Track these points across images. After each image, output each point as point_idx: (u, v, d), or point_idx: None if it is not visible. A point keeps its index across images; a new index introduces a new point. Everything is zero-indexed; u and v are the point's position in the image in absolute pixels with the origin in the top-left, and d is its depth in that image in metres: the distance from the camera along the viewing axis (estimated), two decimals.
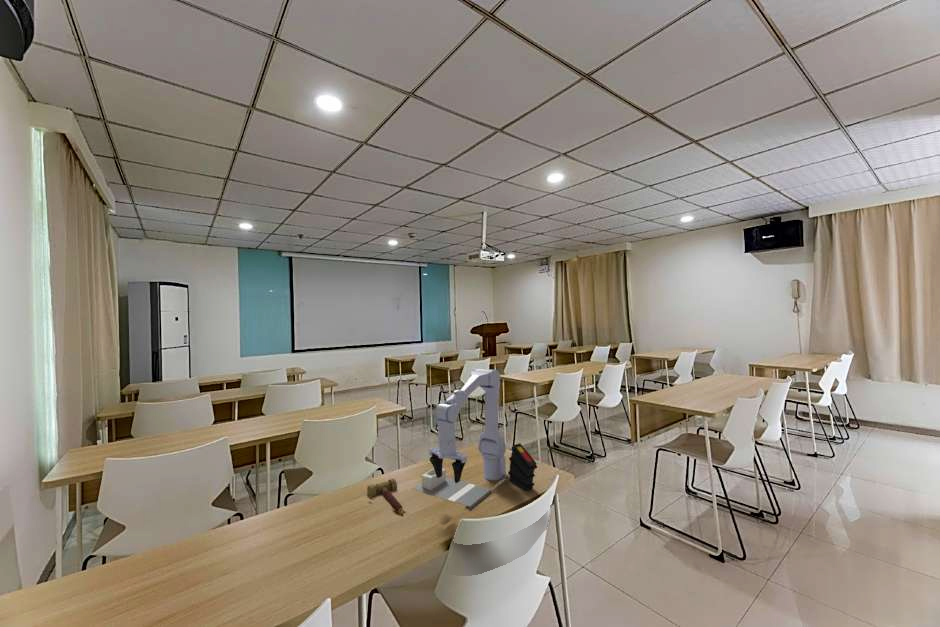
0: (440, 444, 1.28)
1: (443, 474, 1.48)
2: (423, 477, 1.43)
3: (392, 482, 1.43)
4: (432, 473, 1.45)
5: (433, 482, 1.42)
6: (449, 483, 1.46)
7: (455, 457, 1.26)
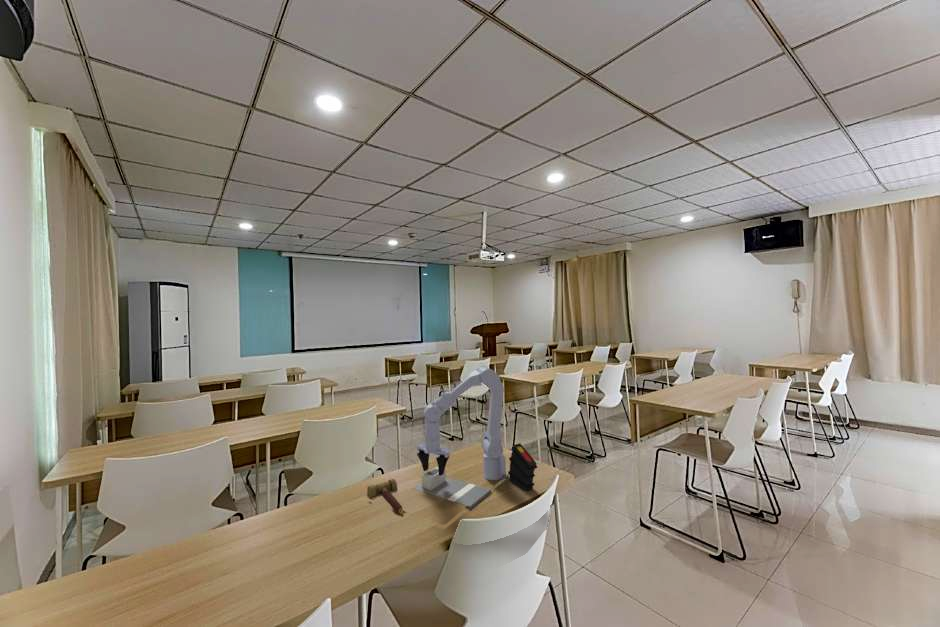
0: (426, 441, 1.44)
1: (443, 474, 1.48)
2: (423, 477, 1.43)
3: (392, 482, 1.43)
4: (432, 473, 1.45)
5: (433, 482, 1.42)
6: (449, 483, 1.46)
7: (439, 452, 1.42)
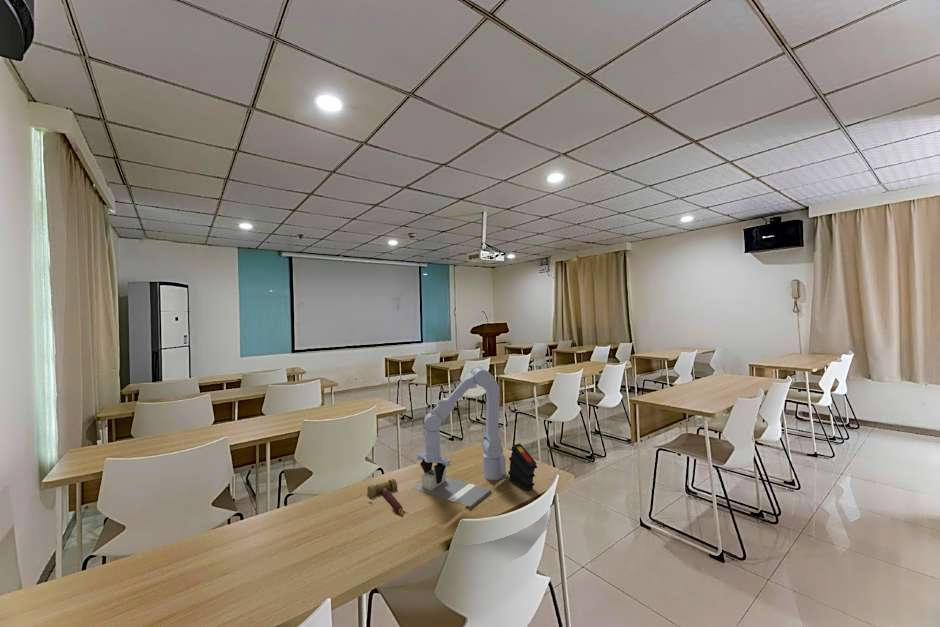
0: (426, 450, 1.44)
1: (443, 474, 1.48)
2: (423, 477, 1.43)
3: (392, 482, 1.43)
4: (432, 473, 1.45)
5: (433, 482, 1.42)
6: (449, 483, 1.46)
7: (439, 461, 1.42)
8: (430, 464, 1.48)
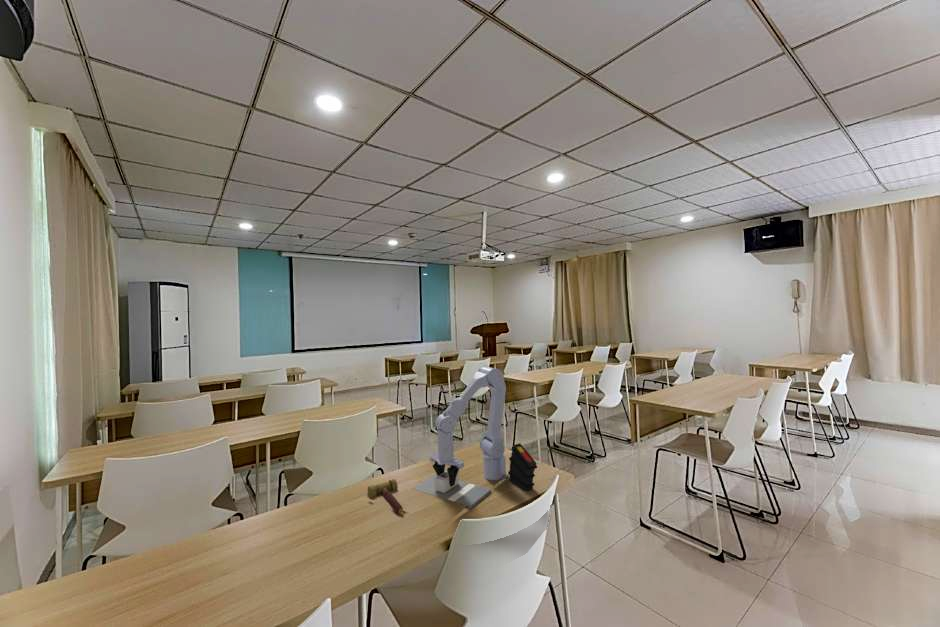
0: (439, 452, 1.41)
1: (456, 476, 1.44)
2: (436, 480, 1.40)
3: (392, 483, 1.42)
4: (445, 476, 1.41)
5: (446, 485, 1.39)
6: None
7: (453, 464, 1.39)
8: (443, 466, 1.45)
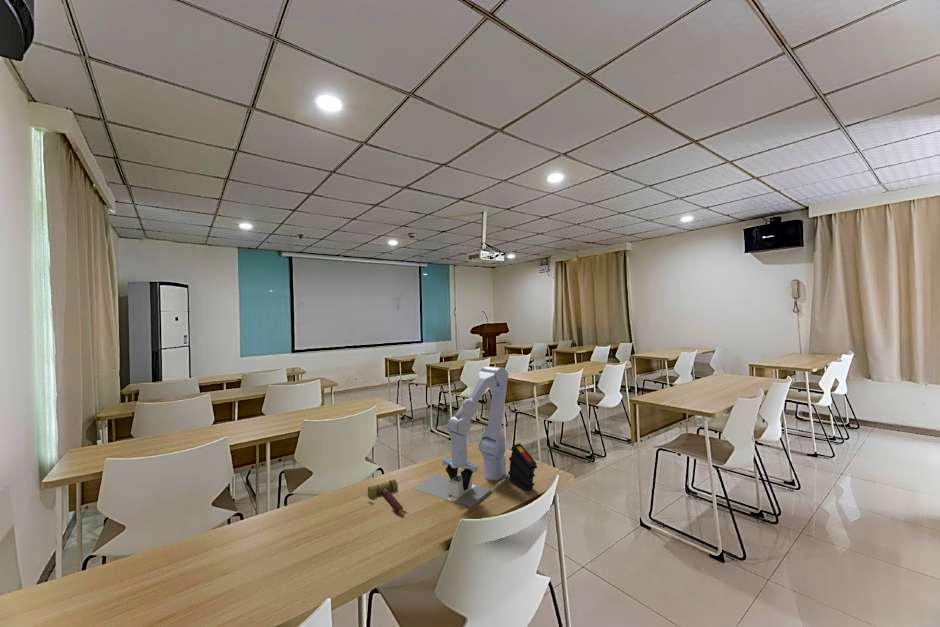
0: (453, 455, 1.37)
1: None
2: (449, 483, 1.36)
3: (393, 483, 1.42)
4: (458, 479, 1.38)
5: (460, 489, 1.36)
6: None
7: (467, 467, 1.36)
8: (456, 470, 1.42)
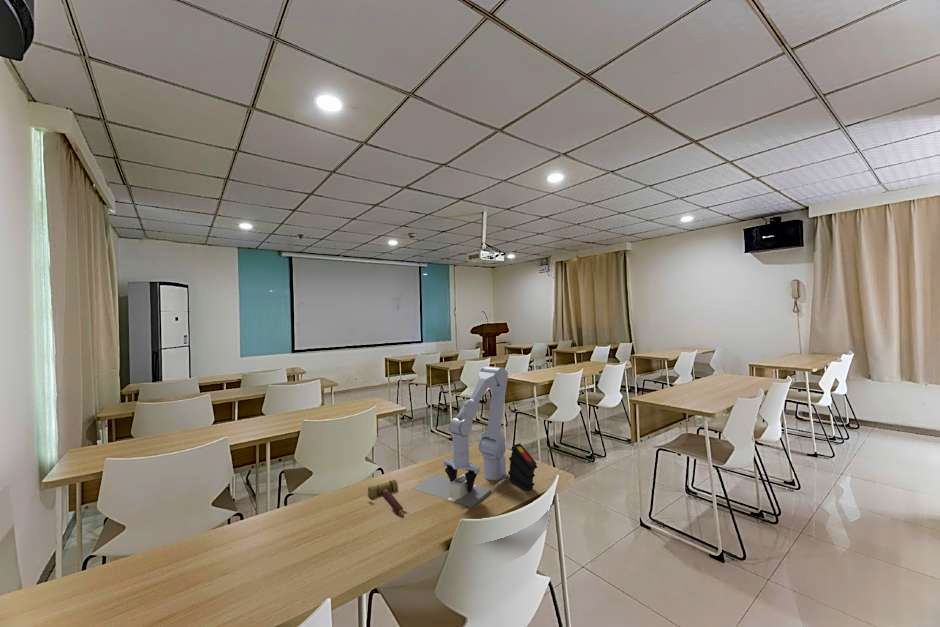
0: (454, 456, 1.37)
1: None
2: (451, 485, 1.36)
3: (393, 483, 1.42)
4: (460, 481, 1.37)
5: (461, 490, 1.35)
6: (449, 483, 1.46)
7: (469, 468, 1.35)
8: (455, 470, 1.42)
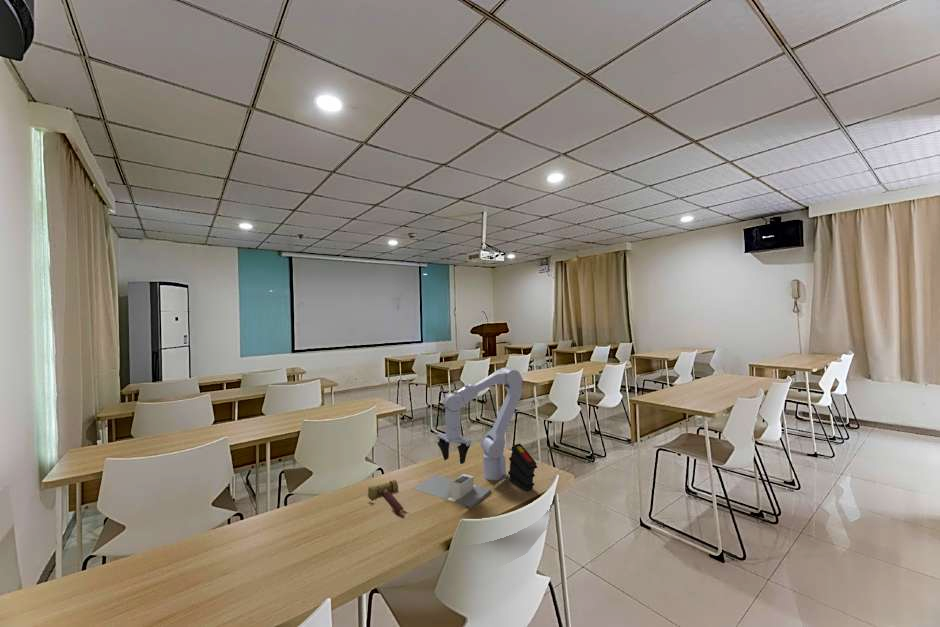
0: (447, 430, 1.44)
1: (471, 482, 1.40)
2: (451, 485, 1.36)
3: (393, 483, 1.42)
4: (460, 481, 1.37)
5: (461, 490, 1.35)
6: (449, 483, 1.46)
7: (460, 441, 1.43)
8: (447, 444, 1.49)
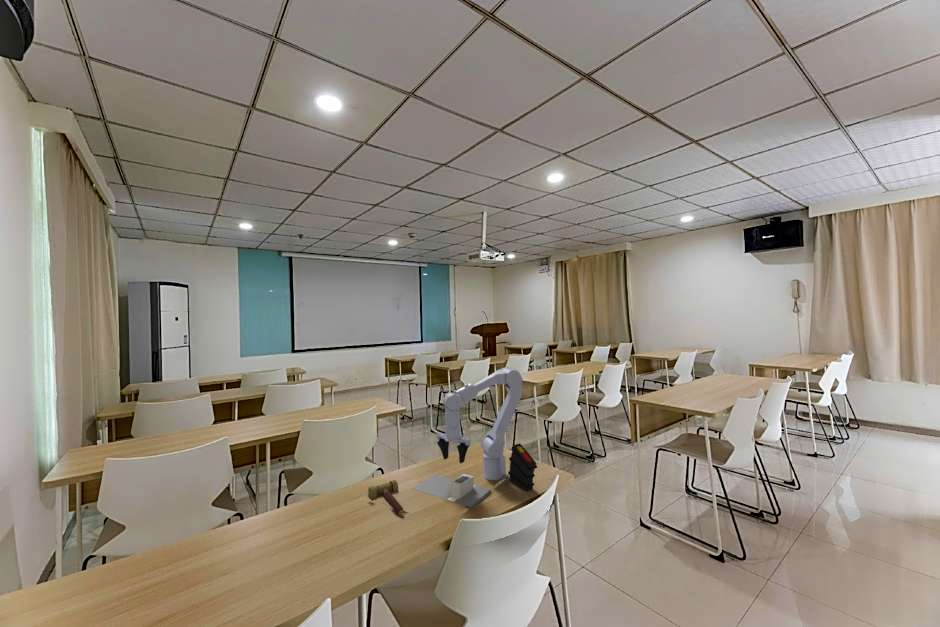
0: (447, 429, 1.45)
1: (471, 482, 1.40)
2: (451, 485, 1.36)
3: (393, 483, 1.42)
4: (460, 481, 1.37)
5: (461, 490, 1.35)
6: (449, 483, 1.46)
7: (460, 440, 1.43)
8: (447, 443, 1.50)
